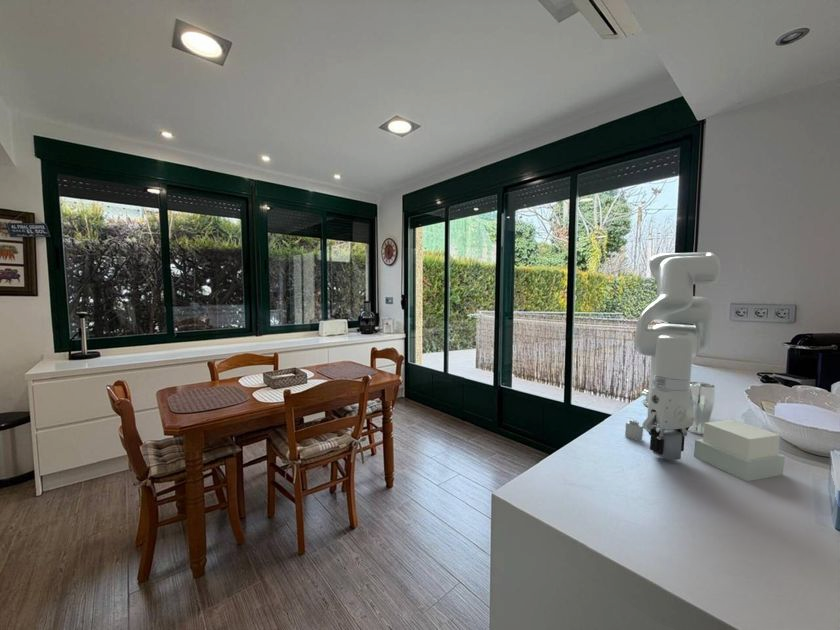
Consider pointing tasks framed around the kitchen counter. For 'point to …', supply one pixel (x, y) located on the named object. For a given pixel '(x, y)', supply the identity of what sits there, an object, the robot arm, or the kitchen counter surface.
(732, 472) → the tower bottom block
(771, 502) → the kitchen counter surface
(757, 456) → the tower top block
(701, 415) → the beer glass
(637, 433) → the lighter
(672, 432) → the cylinder
